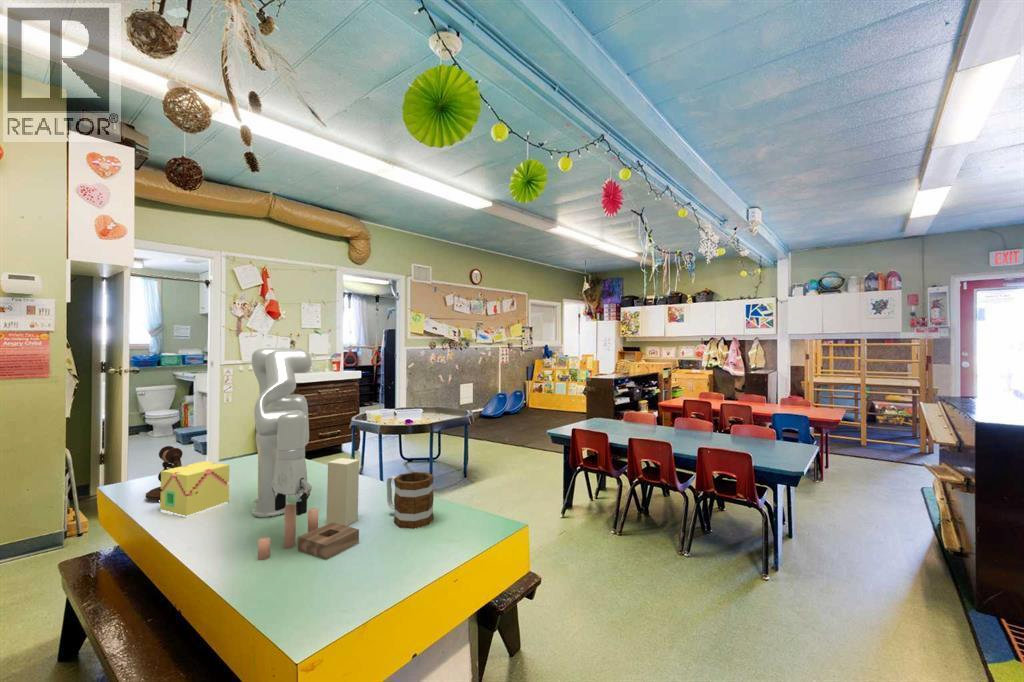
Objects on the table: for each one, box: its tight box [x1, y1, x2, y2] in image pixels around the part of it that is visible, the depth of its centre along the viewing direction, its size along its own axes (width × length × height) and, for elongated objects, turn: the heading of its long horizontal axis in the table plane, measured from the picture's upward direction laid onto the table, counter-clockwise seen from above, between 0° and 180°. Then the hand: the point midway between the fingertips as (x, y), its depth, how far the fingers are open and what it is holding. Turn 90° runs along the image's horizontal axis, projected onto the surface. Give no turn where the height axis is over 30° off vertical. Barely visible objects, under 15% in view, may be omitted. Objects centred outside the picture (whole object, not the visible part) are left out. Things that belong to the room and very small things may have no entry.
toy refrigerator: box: [326, 457, 360, 527], centre depth 145 cm, size 8×7×21 cm
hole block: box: [297, 522, 360, 561], centre depth 127 cm, size 12×12×4 cm
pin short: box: [257, 536, 271, 561], centre depth 120 cm, size 3×3×5 cm
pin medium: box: [307, 508, 319, 533], centre depth 135 cm, size 3×3×8 cm
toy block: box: [159, 460, 230, 516], centre depth 158 cm, size 15×15×15 cm
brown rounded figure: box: [145, 445, 183, 501], centre depth 170 cm, size 15×15×20 cm
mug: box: [386, 471, 435, 530], centre depth 148 cm, size 20×14×15 cm
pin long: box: [283, 503, 297, 549], centre depth 127 cm, size 3×3×12 cm
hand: (290, 511), depth 127 cm, fingers open, 9 cm apart
